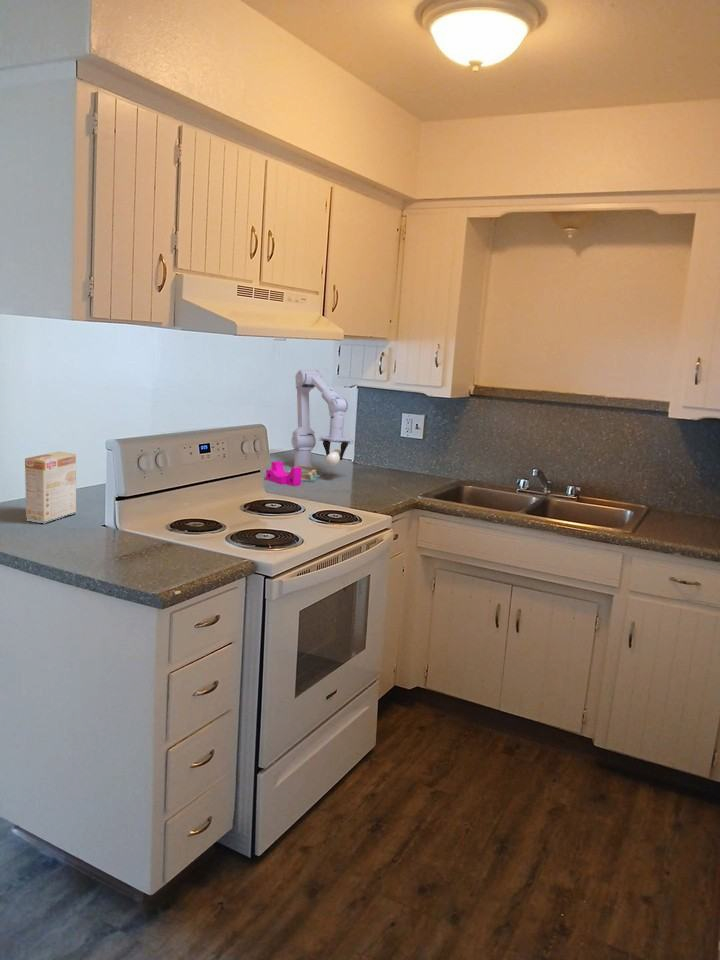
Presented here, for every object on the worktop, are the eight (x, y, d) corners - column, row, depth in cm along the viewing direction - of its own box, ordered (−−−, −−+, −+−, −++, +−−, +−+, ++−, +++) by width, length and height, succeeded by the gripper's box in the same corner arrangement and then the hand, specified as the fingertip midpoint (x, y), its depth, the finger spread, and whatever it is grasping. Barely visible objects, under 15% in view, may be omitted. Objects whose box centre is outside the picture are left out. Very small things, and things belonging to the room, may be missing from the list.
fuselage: (331, 460, 331) (331, 449, 330) (342, 461, 331) (343, 449, 330) (325, 465, 320) (326, 453, 319) (337, 466, 319) (338, 454, 318)
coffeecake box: (58, 511, 245) (58, 451, 241) (77, 514, 243) (77, 453, 239) (24, 521, 231) (23, 457, 227) (44, 525, 229) (43, 460, 225)
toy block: (265, 480, 317) (266, 462, 315) (277, 478, 321) (278, 461, 320) (288, 487, 306) (289, 468, 305) (300, 486, 311) (301, 467, 309)
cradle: (291, 471, 339) (292, 464, 338) (322, 474, 337) (323, 467, 336) (280, 479, 320) (280, 472, 319) (313, 482, 318) (313, 475, 317)
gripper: (317, 426, 319) (315, 459, 322) (352, 430, 317) (349, 462, 320) (321, 424, 326) (319, 456, 329) (354, 428, 324) (352, 459, 327)
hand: (334, 459), depth 325 cm, fingers closed on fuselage, 5 cm apart
